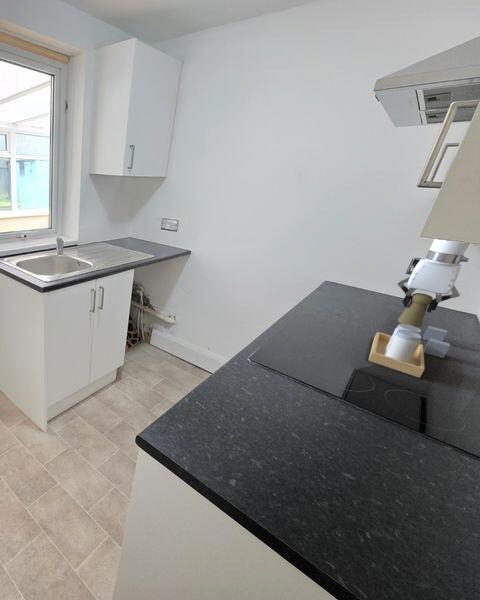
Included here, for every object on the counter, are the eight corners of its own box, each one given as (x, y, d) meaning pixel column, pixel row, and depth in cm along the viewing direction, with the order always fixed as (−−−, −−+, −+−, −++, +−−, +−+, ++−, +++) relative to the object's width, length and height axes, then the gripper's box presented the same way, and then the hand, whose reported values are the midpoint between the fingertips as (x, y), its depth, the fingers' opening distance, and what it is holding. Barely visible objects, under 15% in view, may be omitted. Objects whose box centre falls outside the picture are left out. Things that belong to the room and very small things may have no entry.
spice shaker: (407, 355, 109) (422, 328, 105) (406, 362, 105) (422, 333, 101) (384, 348, 113) (398, 321, 109) (383, 354, 109) (397, 326, 105)
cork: (402, 324, 108) (417, 295, 104) (394, 317, 113) (407, 289, 109) (425, 328, 106) (441, 299, 102) (415, 321, 111) (430, 293, 107)
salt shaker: (406, 362, 105) (422, 334, 101) (406, 369, 101) (422, 340, 97) (383, 355, 109) (397, 327, 104) (382, 361, 105) (396, 333, 101)
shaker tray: (418, 352, 113) (423, 344, 112) (419, 377, 98) (424, 369, 97) (373, 339, 121) (377, 331, 120) (368, 360, 106) (372, 352, 105)
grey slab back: (440, 341, 122) (446, 330, 120) (440, 344, 120) (447, 332, 118) (422, 336, 125) (428, 325, 123) (422, 339, 123) (428, 328, 121)
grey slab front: (442, 355, 112) (449, 343, 110) (443, 358, 110) (450, 346, 108) (423, 349, 115) (429, 338, 113) (423, 352, 113) (430, 340, 111)
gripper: (481, 262, 97) (451, 314, 105) (406, 250, 108) (384, 298, 115) (485, 266, 92) (453, 320, 100) (406, 253, 103) (383, 303, 111)
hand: (416, 308), depth 107 cm, fingers closed on cork, 5 cm apart
